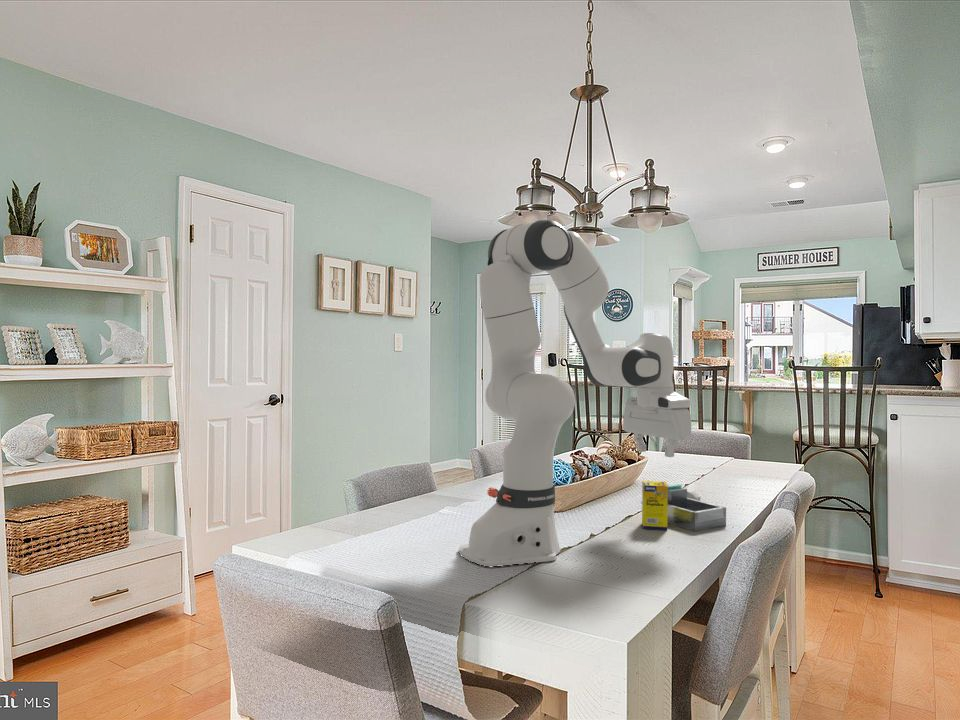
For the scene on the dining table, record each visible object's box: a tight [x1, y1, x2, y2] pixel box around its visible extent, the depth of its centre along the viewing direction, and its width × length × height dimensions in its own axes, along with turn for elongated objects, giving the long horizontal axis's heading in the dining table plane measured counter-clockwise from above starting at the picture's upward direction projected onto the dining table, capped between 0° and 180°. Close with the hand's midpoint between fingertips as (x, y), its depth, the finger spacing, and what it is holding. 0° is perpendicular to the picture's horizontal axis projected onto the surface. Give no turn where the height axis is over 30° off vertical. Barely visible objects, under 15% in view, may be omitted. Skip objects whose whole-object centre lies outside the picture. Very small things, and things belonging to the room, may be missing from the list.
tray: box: [667, 484, 727, 532], centre depth 169 cm, size 11×16×8 cm
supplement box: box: [641, 480, 668, 531], centre depth 163 cm, size 6×6×11 cm
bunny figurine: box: [667, 482, 702, 501], centre depth 190 cm, size 10×5×15 cm
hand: (655, 454), depth 163 cm, fingers open, 8 cm apart
